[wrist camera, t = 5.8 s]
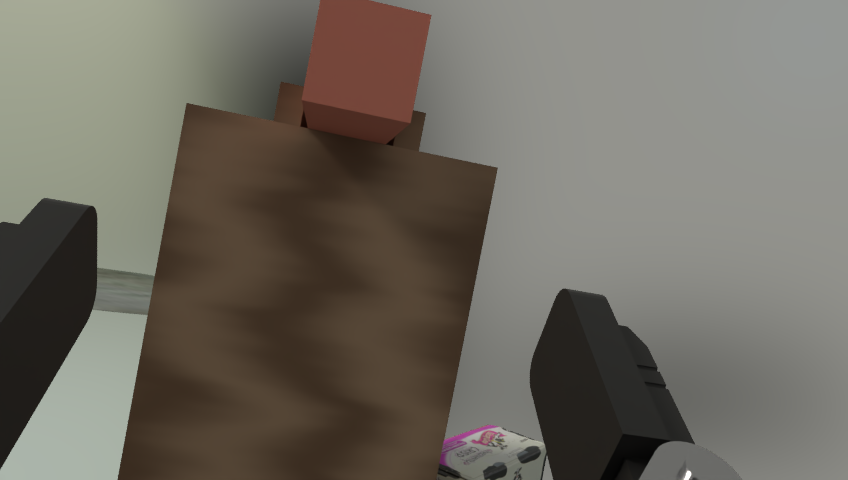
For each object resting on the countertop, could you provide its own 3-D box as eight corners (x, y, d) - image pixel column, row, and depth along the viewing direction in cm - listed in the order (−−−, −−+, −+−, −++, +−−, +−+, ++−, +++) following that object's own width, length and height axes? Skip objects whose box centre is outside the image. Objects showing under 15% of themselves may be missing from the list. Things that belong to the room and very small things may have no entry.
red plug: (301, 100, 19) (322, -11, 19) (312, 149, 39) (322, 94, 39) (410, 123, 20) (431, 15, 20) (366, 160, 40) (377, 106, 40)
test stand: (35, 928, 28) (194, 62, 27) (121, 708, 39) (233, 104, 38) (344, 941, 29) (504, 130, 28) (338, 727, 41) (451, 150, 40)
